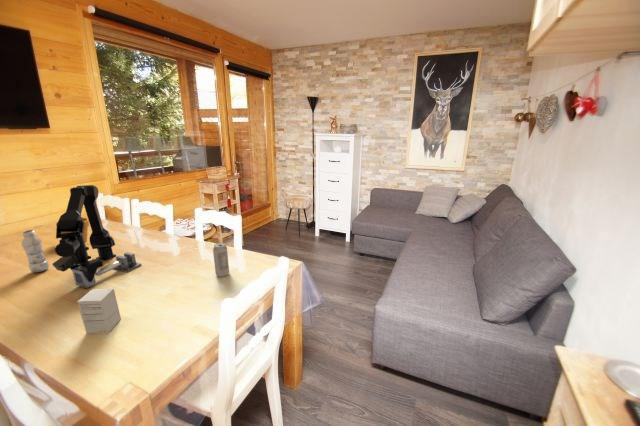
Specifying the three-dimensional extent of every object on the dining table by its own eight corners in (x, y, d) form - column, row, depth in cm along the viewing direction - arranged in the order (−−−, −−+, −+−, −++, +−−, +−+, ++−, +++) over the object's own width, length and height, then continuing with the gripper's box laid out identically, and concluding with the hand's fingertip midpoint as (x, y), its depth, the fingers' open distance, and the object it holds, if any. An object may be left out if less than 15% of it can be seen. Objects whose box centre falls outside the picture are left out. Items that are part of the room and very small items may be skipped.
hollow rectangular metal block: (76, 284, 121) (71, 269, 119) (86, 280, 125) (82, 264, 122) (86, 287, 119) (81, 271, 117) (96, 283, 123) (92, 267, 120)
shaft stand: (91, 278, 128) (88, 265, 126) (127, 262, 143) (124, 250, 142) (106, 282, 125) (103, 269, 123) (141, 265, 140) (139, 254, 138)
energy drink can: (225, 270, 137) (222, 241, 132) (231, 274, 133) (229, 245, 128) (213, 274, 133) (210, 244, 128) (219, 279, 129) (216, 248, 124)
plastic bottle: (53, 268, 136) (41, 229, 130) (36, 275, 130) (23, 234, 124) (44, 266, 138) (33, 228, 132) (27, 273, 132) (14, 233, 126)
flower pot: (97, 240, 169) (92, 220, 165) (67, 248, 158) (61, 227, 154) (87, 235, 176) (82, 216, 173) (57, 243, 165) (52, 222, 161)
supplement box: (99, 319, 101) (92, 288, 97) (121, 318, 102) (114, 287, 98) (85, 334, 94) (76, 301, 90) (108, 333, 95) (100, 300, 91)
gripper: (38, 251, 112) (49, 285, 117) (69, 258, 106) (79, 294, 111) (70, 240, 122) (78, 273, 127) (100, 247, 116) (107, 280, 121)
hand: (85, 280), depth 121 cm, fingers closed on hollow rectangular metal block, 6 cm apart
